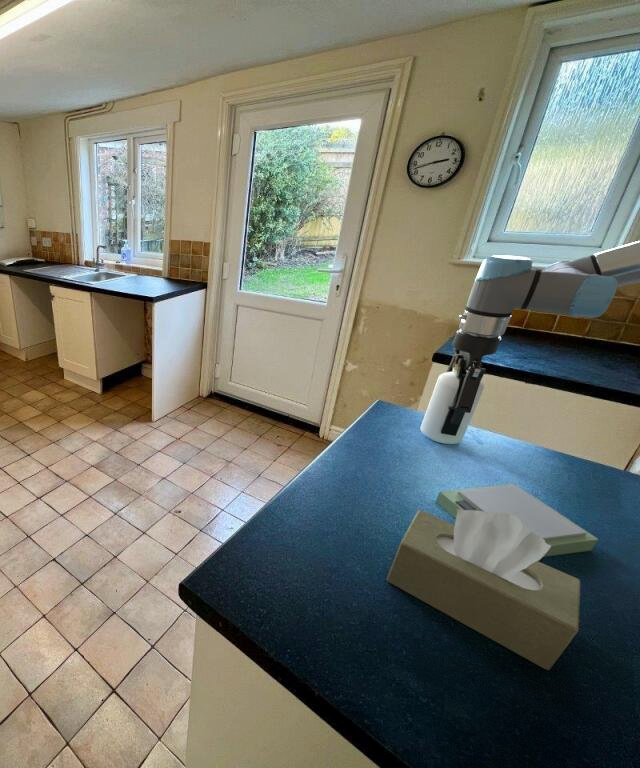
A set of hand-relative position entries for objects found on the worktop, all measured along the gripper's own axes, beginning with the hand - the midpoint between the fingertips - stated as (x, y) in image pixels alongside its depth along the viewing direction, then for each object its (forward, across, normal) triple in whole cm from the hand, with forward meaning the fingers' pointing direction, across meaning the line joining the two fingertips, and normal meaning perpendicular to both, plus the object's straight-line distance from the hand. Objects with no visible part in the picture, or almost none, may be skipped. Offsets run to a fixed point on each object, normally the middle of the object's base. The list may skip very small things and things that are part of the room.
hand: (444, 424), depth 97 cm
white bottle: (+3, 0, 0) cm, 3 cm away
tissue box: (+3, +50, -5) cm, 50 cm away
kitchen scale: (+3, +29, +6) cm, 29 cm away
